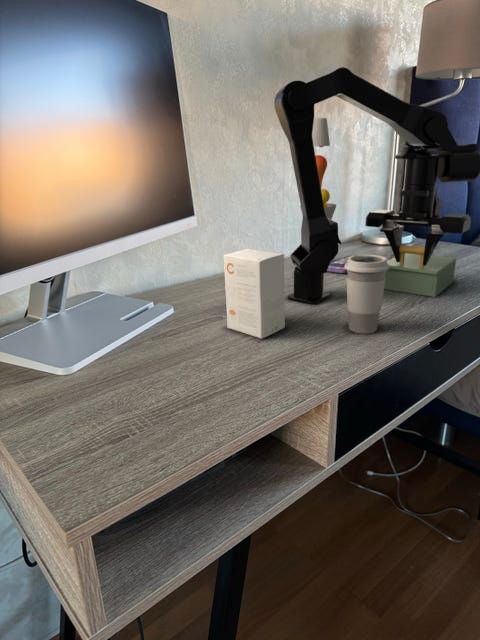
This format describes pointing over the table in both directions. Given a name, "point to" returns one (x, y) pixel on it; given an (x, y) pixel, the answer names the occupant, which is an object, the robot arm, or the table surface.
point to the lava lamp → (322, 160)
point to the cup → (365, 291)
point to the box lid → (419, 261)
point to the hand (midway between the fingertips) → (411, 263)
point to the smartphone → (338, 265)
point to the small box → (255, 292)
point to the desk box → (419, 281)
